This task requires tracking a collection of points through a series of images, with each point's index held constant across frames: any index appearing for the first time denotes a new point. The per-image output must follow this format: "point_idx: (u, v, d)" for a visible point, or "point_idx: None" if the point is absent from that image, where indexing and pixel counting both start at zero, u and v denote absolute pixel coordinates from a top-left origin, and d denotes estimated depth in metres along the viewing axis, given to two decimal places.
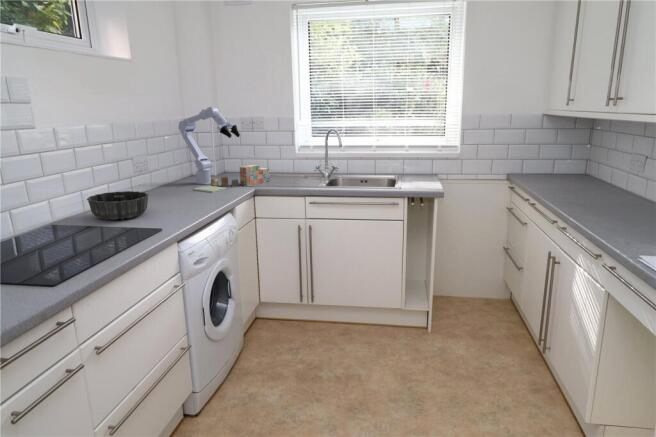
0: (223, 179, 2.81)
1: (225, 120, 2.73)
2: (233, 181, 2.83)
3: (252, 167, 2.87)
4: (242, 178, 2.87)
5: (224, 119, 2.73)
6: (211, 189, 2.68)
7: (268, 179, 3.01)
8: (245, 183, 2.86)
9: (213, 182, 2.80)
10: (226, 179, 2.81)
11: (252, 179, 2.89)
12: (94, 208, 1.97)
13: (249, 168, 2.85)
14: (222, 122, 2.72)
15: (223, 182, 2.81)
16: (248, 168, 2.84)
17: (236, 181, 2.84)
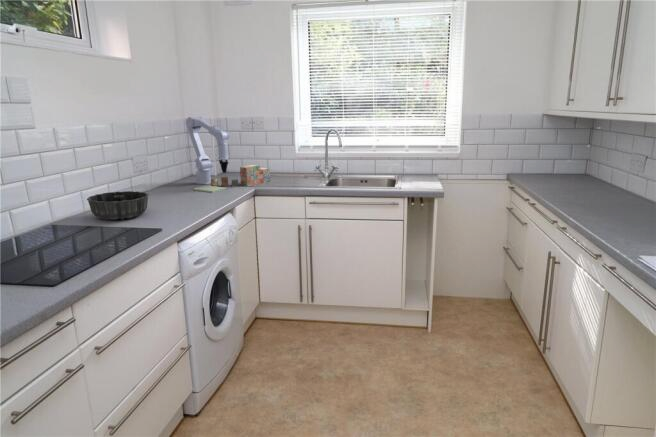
0: (223, 179, 2.81)
1: (227, 153, 2.79)
2: (233, 181, 2.83)
3: (252, 167, 2.87)
4: (242, 178, 2.87)
5: (227, 152, 2.79)
6: (211, 189, 2.68)
7: (268, 179, 3.01)
8: (245, 183, 2.86)
9: (213, 182, 2.80)
10: (226, 179, 2.81)
11: (252, 179, 2.89)
12: (94, 208, 1.97)
13: (249, 168, 2.85)
14: (225, 154, 2.77)
15: (223, 182, 2.81)
16: (248, 168, 2.85)
17: (236, 181, 2.84)
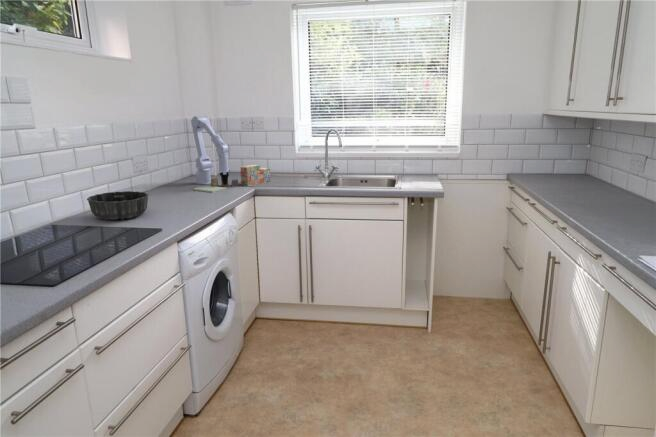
0: None
1: None
2: (233, 181, 2.83)
3: (253, 167, 2.88)
4: (243, 178, 2.87)
5: None
6: (211, 189, 2.68)
7: (268, 179, 3.01)
8: (246, 183, 2.87)
9: (213, 182, 2.80)
10: None
11: (253, 179, 2.89)
12: (94, 208, 1.97)
13: (250, 168, 2.86)
14: (226, 167, 2.79)
15: None
16: (249, 168, 2.85)
17: (236, 181, 2.84)
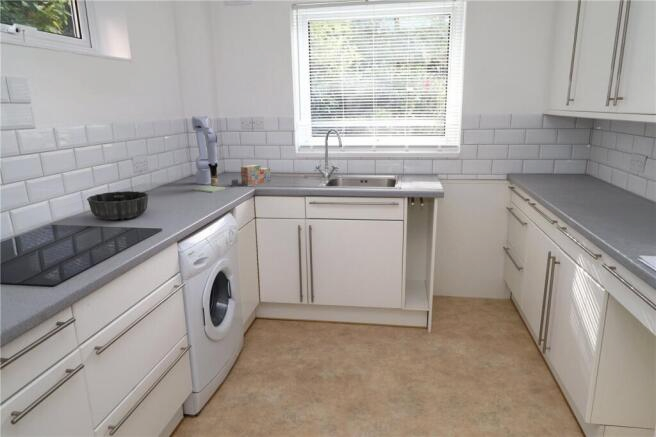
0: None
1: None
2: (233, 181, 2.83)
3: (253, 167, 2.88)
4: (243, 178, 2.87)
5: (216, 155, 2.71)
6: (211, 189, 2.68)
7: (269, 179, 3.02)
8: (246, 183, 2.87)
9: (213, 182, 2.80)
10: None
11: (253, 179, 2.89)
12: (94, 208, 1.97)
13: (250, 168, 2.86)
14: (215, 157, 2.69)
15: None
16: (249, 168, 2.85)
17: (236, 181, 2.84)
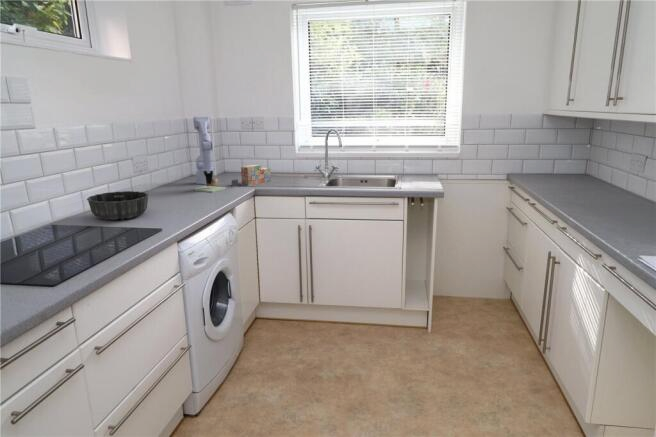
0: None
1: (212, 164, 2.69)
2: (233, 181, 2.83)
3: (253, 167, 2.88)
4: (243, 178, 2.87)
5: (212, 163, 2.69)
6: (211, 189, 2.68)
7: (269, 179, 3.02)
8: (247, 183, 2.87)
9: (213, 182, 2.80)
10: None
11: (253, 179, 2.90)
12: (94, 208, 1.97)
13: (251, 168, 2.86)
14: (210, 165, 2.67)
15: None
16: (250, 168, 2.85)
17: (236, 181, 2.84)
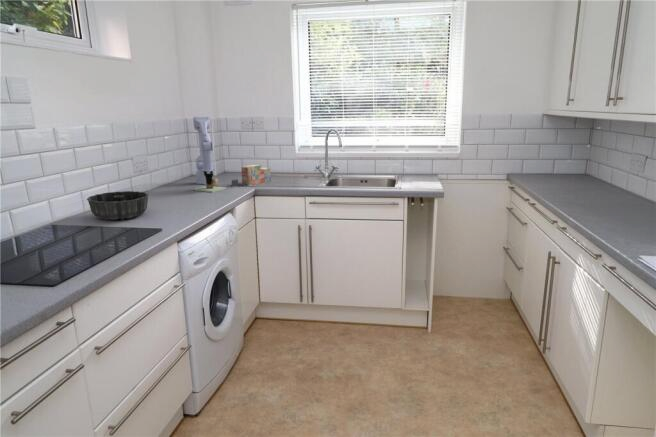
0: None
1: (212, 165, 2.69)
2: (233, 181, 2.83)
3: (254, 167, 2.88)
4: (244, 178, 2.88)
5: (212, 163, 2.69)
6: (211, 189, 2.68)
7: (269, 179, 3.02)
8: (247, 183, 2.87)
9: (213, 182, 2.80)
10: None
11: (254, 179, 2.90)
12: (94, 208, 1.97)
13: (251, 168, 2.86)
14: (210, 166, 2.67)
15: None
16: (250, 168, 2.85)
17: (236, 181, 2.84)
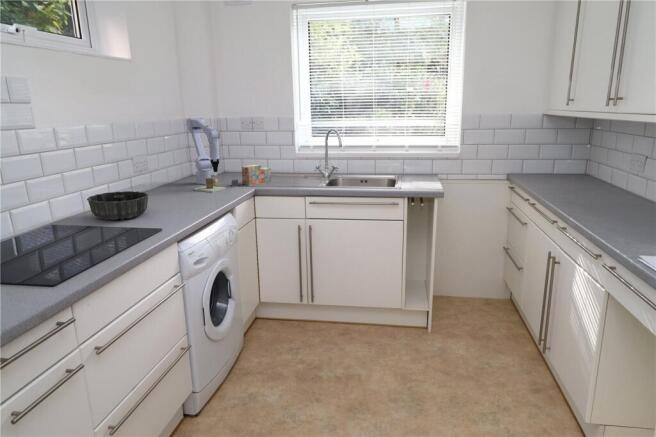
0: (207, 181, 2.69)
1: (218, 153, 2.77)
2: (233, 181, 2.83)
3: (254, 167, 2.88)
4: (244, 178, 2.88)
5: (218, 151, 2.77)
6: (211, 189, 2.68)
7: (269, 179, 3.02)
8: (247, 183, 2.87)
9: (213, 182, 2.80)
10: (211, 181, 2.69)
11: (254, 179, 2.90)
12: (94, 208, 1.97)
13: (251, 168, 2.86)
14: (216, 154, 2.75)
15: (208, 184, 2.69)
16: (250, 168, 2.86)
17: (236, 181, 2.84)
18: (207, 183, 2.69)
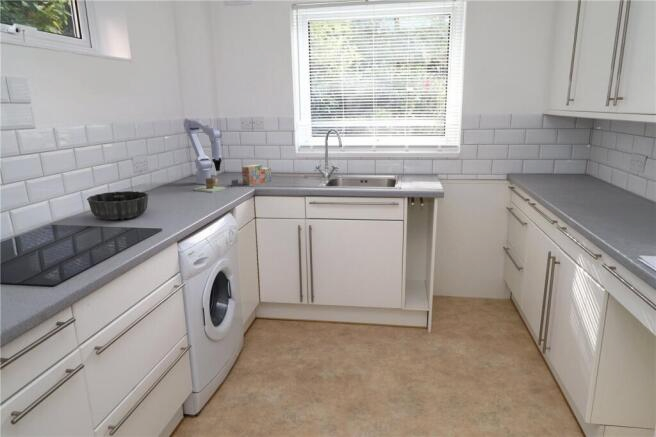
0: (207, 181, 2.69)
1: (220, 152, 2.79)
2: (233, 181, 2.83)
3: (254, 167, 2.89)
4: (244, 178, 2.88)
5: (220, 150, 2.79)
6: (211, 189, 2.68)
7: (269, 179, 3.03)
8: (248, 183, 2.87)
9: (213, 182, 2.80)
10: (211, 181, 2.69)
11: (254, 179, 2.90)
12: (94, 208, 1.97)
13: (252, 168, 2.86)
14: (218, 153, 2.77)
15: (208, 184, 2.69)
16: (251, 168, 2.86)
17: (236, 181, 2.84)
18: (207, 183, 2.69)
